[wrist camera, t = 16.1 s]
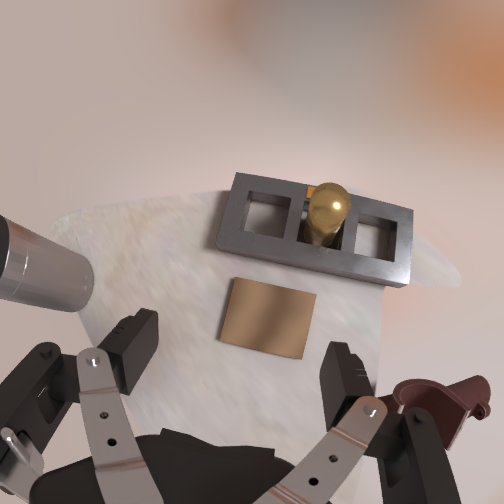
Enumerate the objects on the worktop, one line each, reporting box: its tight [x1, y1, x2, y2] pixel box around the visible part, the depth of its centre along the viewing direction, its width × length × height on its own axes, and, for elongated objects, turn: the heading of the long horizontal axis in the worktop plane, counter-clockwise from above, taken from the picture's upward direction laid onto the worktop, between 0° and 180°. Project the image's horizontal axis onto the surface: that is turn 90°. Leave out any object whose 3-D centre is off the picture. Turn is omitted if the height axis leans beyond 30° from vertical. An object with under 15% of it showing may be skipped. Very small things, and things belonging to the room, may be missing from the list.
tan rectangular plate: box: [220, 277, 316, 360], centre depth 34 cm, size 10×8×1 cm
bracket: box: [378, 375, 491, 451], centre depth 25 cm, size 6×17×10 cm, turn 90°
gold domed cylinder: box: [303, 183, 351, 247], centre depth 32 cm, size 4×4×10 cm
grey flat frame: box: [215, 172, 413, 288], centre depth 35 cm, size 24×10×3 cm, turn 77°
